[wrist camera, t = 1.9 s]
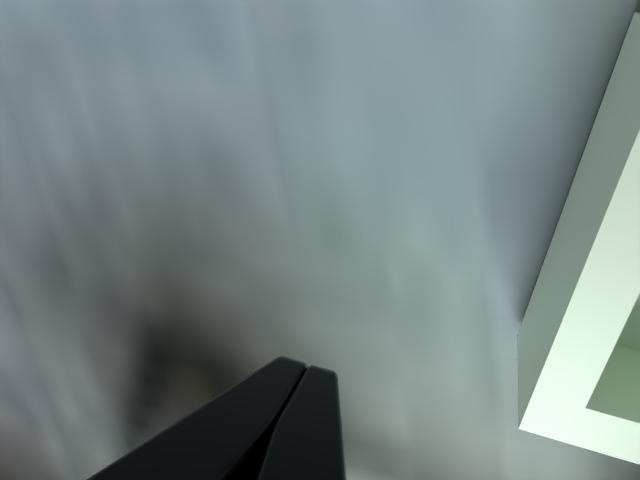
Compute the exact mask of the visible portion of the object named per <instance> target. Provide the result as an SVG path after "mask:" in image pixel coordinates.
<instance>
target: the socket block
mask: <svg viewBox="0 0 640 480" xmlns="http://www.w3.org/2000/svg"><path fill="white" fill-rule="evenodd" d="M517 352H518V424H519V429H521V430H525V431H528V432H531V433H535V434H538V435H541V436H545V437H548V438H552V439H555V440H558V441H562V442H565V443H568V444H572V445H575V446H578V447H582V448H585V449H589V450H592V451H595V452H599V453H602V454H605V455H609V456H612V457H616V458H619V459H622V460H626V461H629V462H632V463H636V464H639V465H640V13H638V12H634V15H633V17H632V20H631V23H630V26H629V28H628V31H627V34H626V37H625V39H624V42H623V45H622V48H621V50H620V53H619V56H618V59H617V61H616V64H615V67H614V70H613V73H612V75H611V78H610V81H609V84H608V86H607V89H606V92H605V95H604V97H603V100H602V103H601V106H600V108H599V111H598V114H597V117H596V119H595V122H594V125H593V128H592V130H591V133H590V136H589V139H588V141H587V144H586V147H585V150H584V153H583V155H582V158H581V161H580V164H579V166H578V169H577V172H576V175H575V177H574V180H573V183H572V186H571V188H570V191H569V194H568V197H567V199H566V202H565V205H564V208H563V210H562V213H561V216H560V219H559V221H558V224H557V227H556V230H555V232H554V235H553V238H552V241H551V244H550V246H549V249H548V252H547V255H546V257H545V260H544V263H543V266H542V268H541V271H540V274H539V277H538V279H537V282H536V285H535V288H534V290H533V293H532V296H531V299H530V301H529V304H528V307H527V310H526V312H525V315H524V318H523V321H522V324H521V326H520V329H519V332H518V335H517Z"/></svg>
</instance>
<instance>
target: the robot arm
mask: <svg viewBox="0 0 640 480" xmlns="http://www.w3.org/2000/svg"><path fill="white" fill-rule="evenodd" d="M87 480H346V469H345V457H344V445H343V434H342V422H341V411H340V399H339V388H338V377H337V374H336V373H335V372H334V371H332V370H328V369H325V368H321V367H318V366H315V365H311V366H309V367H307V365H306V364H305V363H304V362H301V361H298V360H294V359H291V358H288V357H284V356H281V357H278V358H276V359H274V360H273V361H271V362H270V363H268V364H267V365H265V366H263V367H262V368H260V369H259V370H257V371H256V372H254V373H253V374H251V375H249V376H248V377H246V378H245V379H243V380H242V381H240V382H238V383H237V384H235V385H234V386H232V387H231V388H229V389H227V390H226V391H224V392H223V393H221V394H220V395H218V396H217V397H215V398H213V399H212V400H210V401H209V402H207V403H206V404H204V405H202V406H201V407H199V408H198V409H196V410H195V411H193V412H192V413H190V414H188V415H187V416H185V417H184V418H182V419H181V420H179V421H177V422H176V423H174V424H173V425H171V426H170V427H168V428H167V429H165V430H163V431H162V432H160V433H159V434H157V435H156V436H154V437H152V438H151V439H149V440H148V441H146V442H145V443H143V444H141V445H140V446H138V447H137V448H135V449H134V450H132V451H131V452H129V453H127V454H126V455H124V456H123V457H121V458H120V459H118V460H116V461H115V462H113V463H112V464H110V465H109V466H107V467H106V468H104V469H102V470H101V471H99V472H98V473H96V474H95V475H93V476H91V477H90V478H88V479H87Z"/></svg>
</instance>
